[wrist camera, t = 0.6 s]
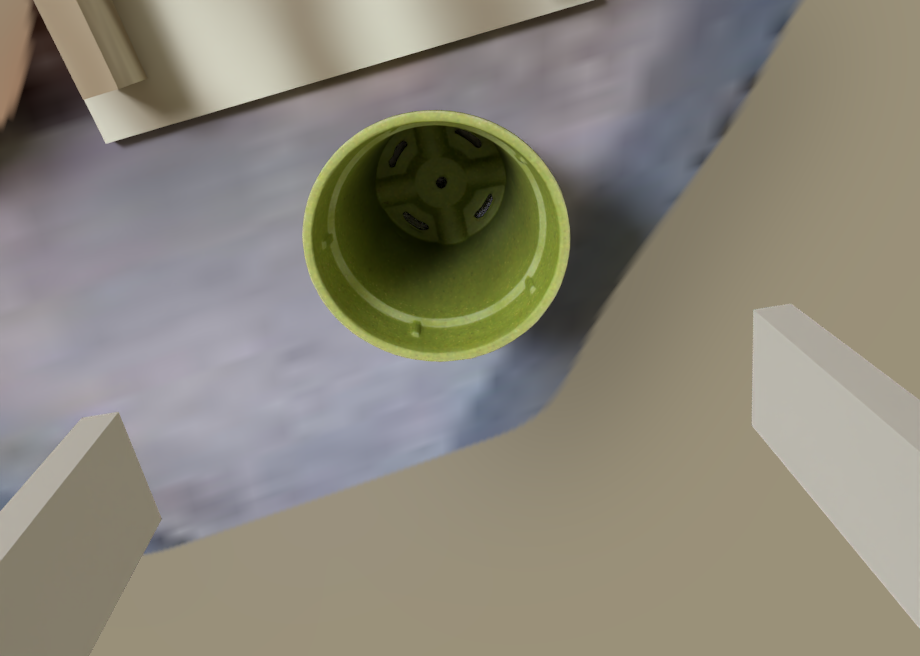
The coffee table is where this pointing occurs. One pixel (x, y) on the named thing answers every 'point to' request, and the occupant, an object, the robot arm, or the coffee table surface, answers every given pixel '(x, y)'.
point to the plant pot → (436, 236)
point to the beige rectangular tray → (244, 47)
